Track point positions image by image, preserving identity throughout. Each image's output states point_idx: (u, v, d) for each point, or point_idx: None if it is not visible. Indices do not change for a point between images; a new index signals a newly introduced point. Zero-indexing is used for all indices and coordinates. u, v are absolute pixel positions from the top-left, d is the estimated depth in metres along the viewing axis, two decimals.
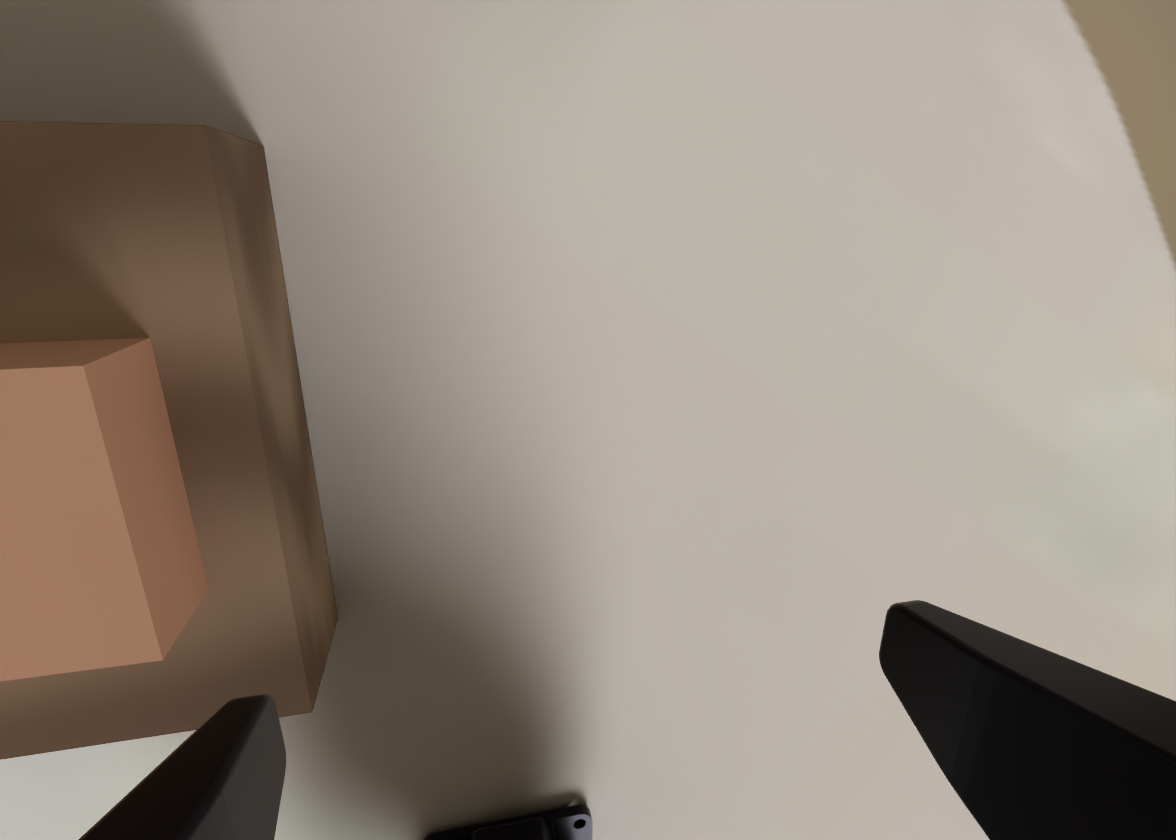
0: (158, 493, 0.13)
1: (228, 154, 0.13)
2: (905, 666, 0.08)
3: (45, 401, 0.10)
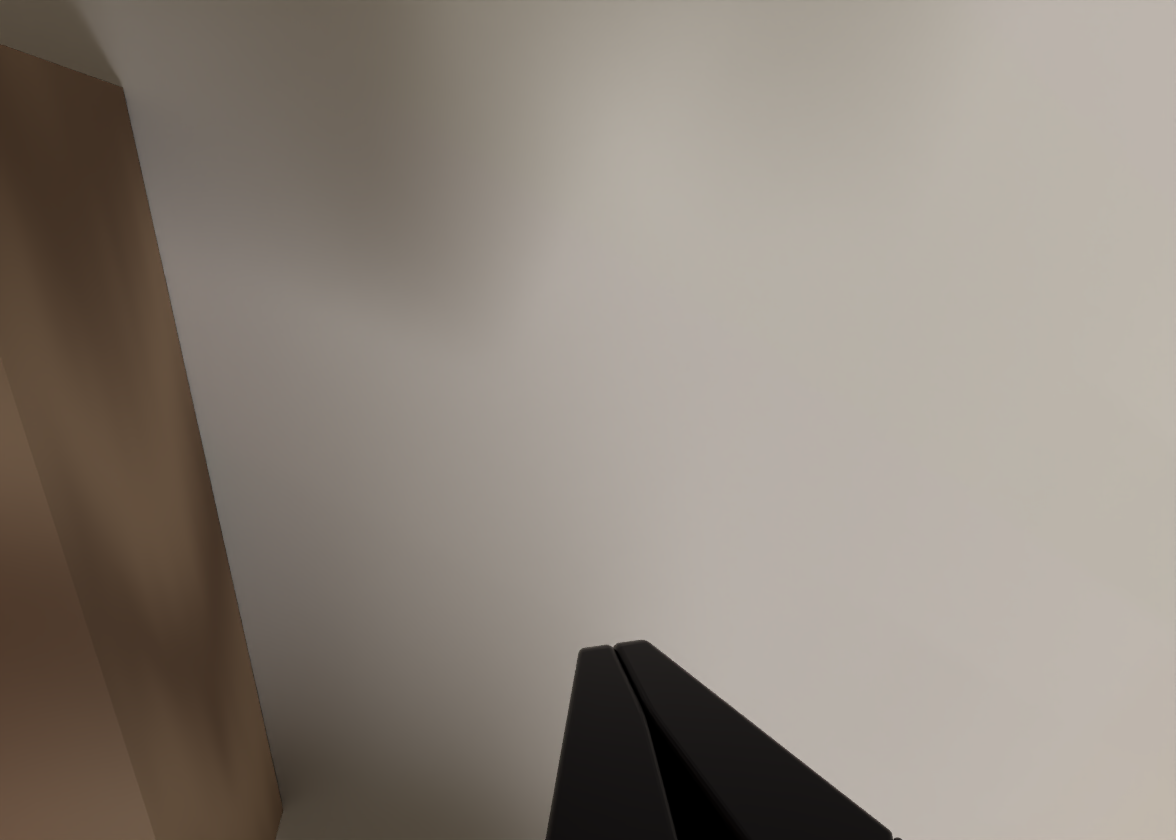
0: None
1: None
2: None
3: None
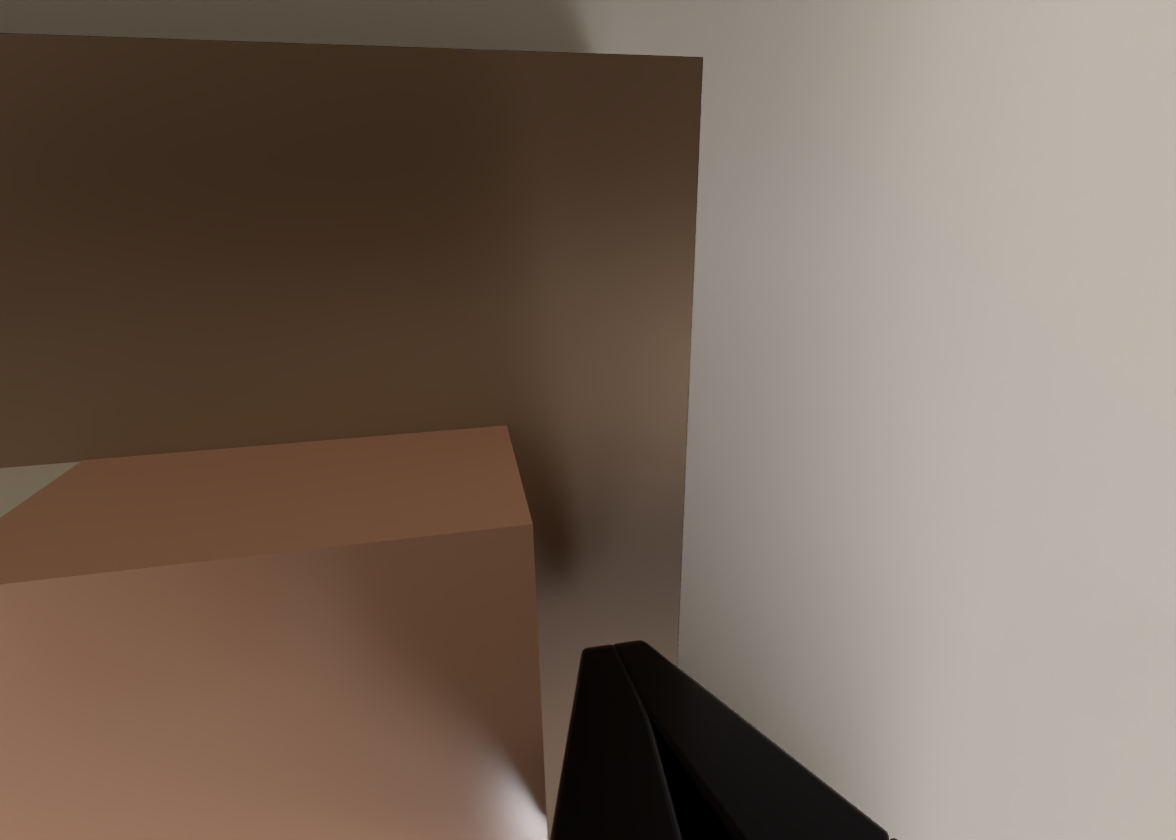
0: None
1: None
2: None
3: (453, 593, 0.05)
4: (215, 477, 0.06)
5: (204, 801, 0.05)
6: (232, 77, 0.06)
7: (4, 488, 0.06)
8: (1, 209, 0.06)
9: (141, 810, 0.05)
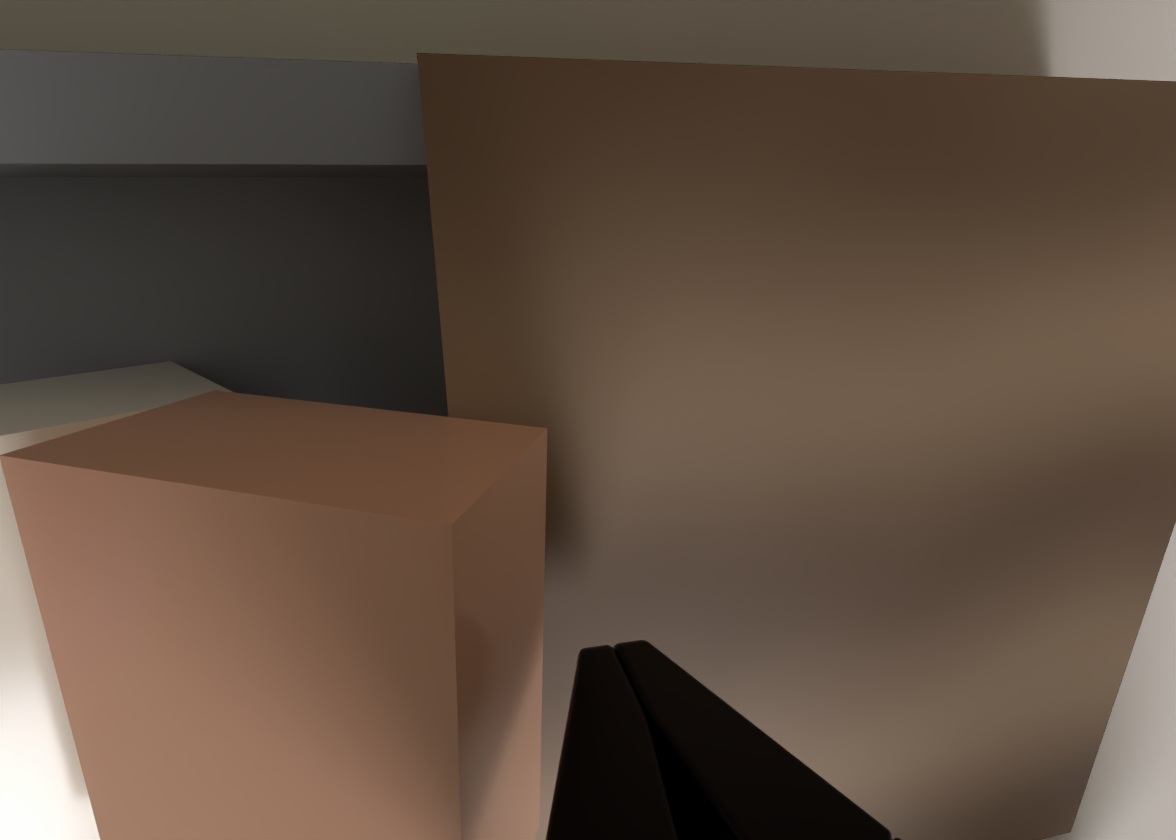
0: (511, 713, 0.07)
1: None
2: None
3: (374, 576, 0.05)
4: (273, 420, 0.07)
5: (179, 695, 0.06)
6: (1030, 103, 0.08)
7: None
8: (855, 202, 0.08)
9: (138, 684, 0.06)
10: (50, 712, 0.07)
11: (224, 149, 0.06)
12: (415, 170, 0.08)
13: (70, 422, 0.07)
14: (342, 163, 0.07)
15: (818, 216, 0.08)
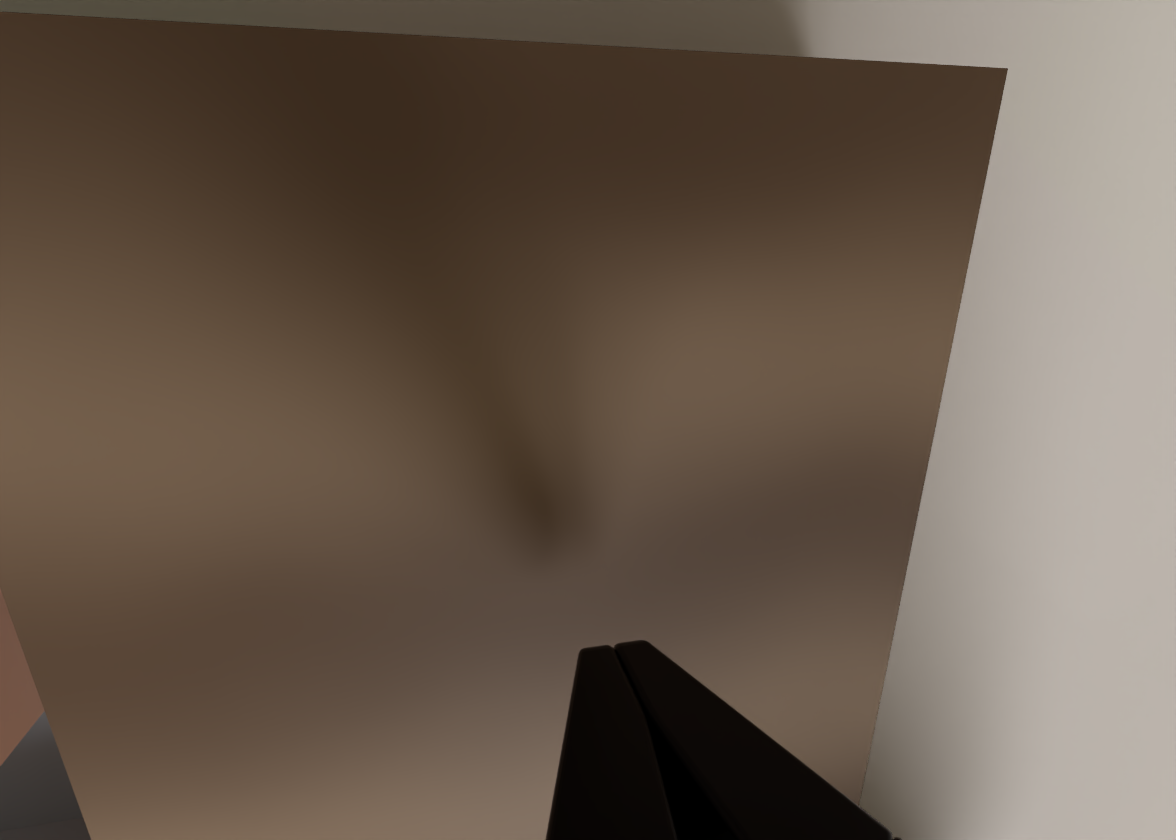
0: None
1: None
2: None
3: None
4: None
5: None
6: (636, 79, 0.07)
7: None
8: (433, 190, 0.07)
9: None
10: None
11: None
12: None
13: None
14: None
15: (384, 206, 0.07)
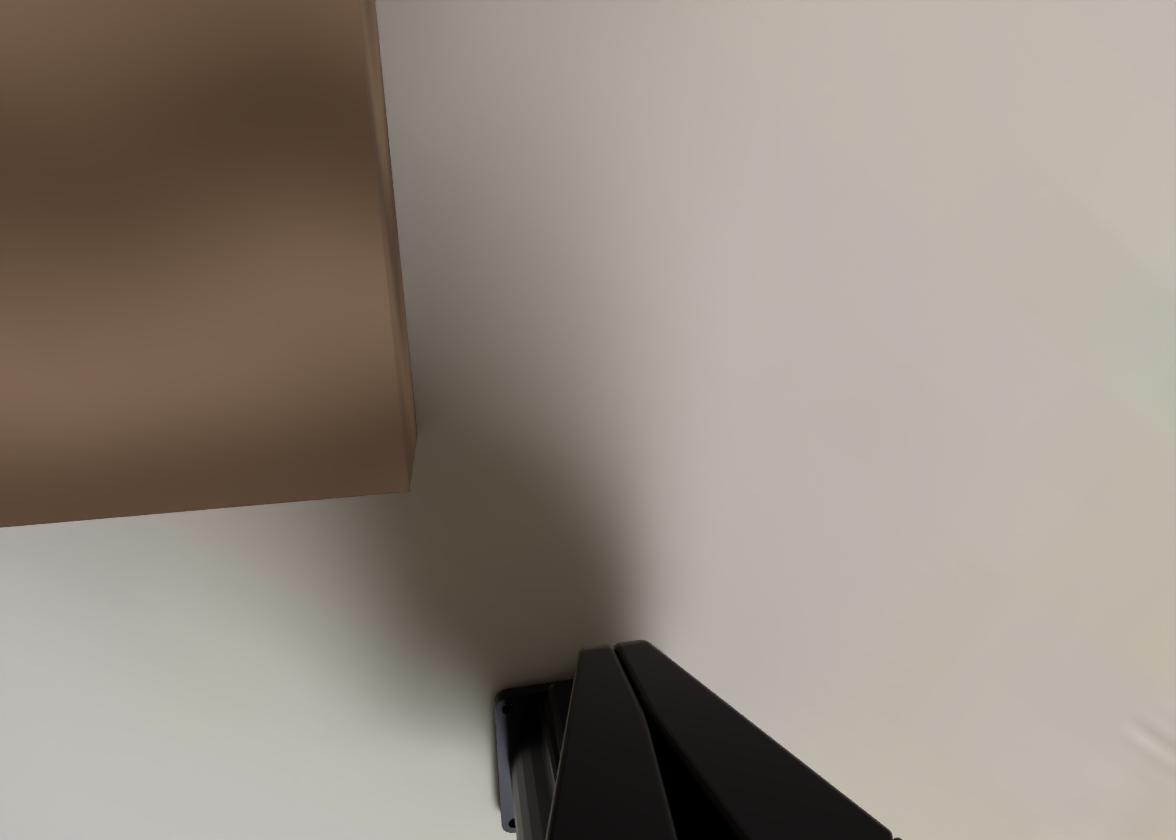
0: None
1: None
2: None
3: None
4: None
5: None
6: None
7: None
8: None
9: None
10: None
11: None
12: None
13: None
14: None
15: None
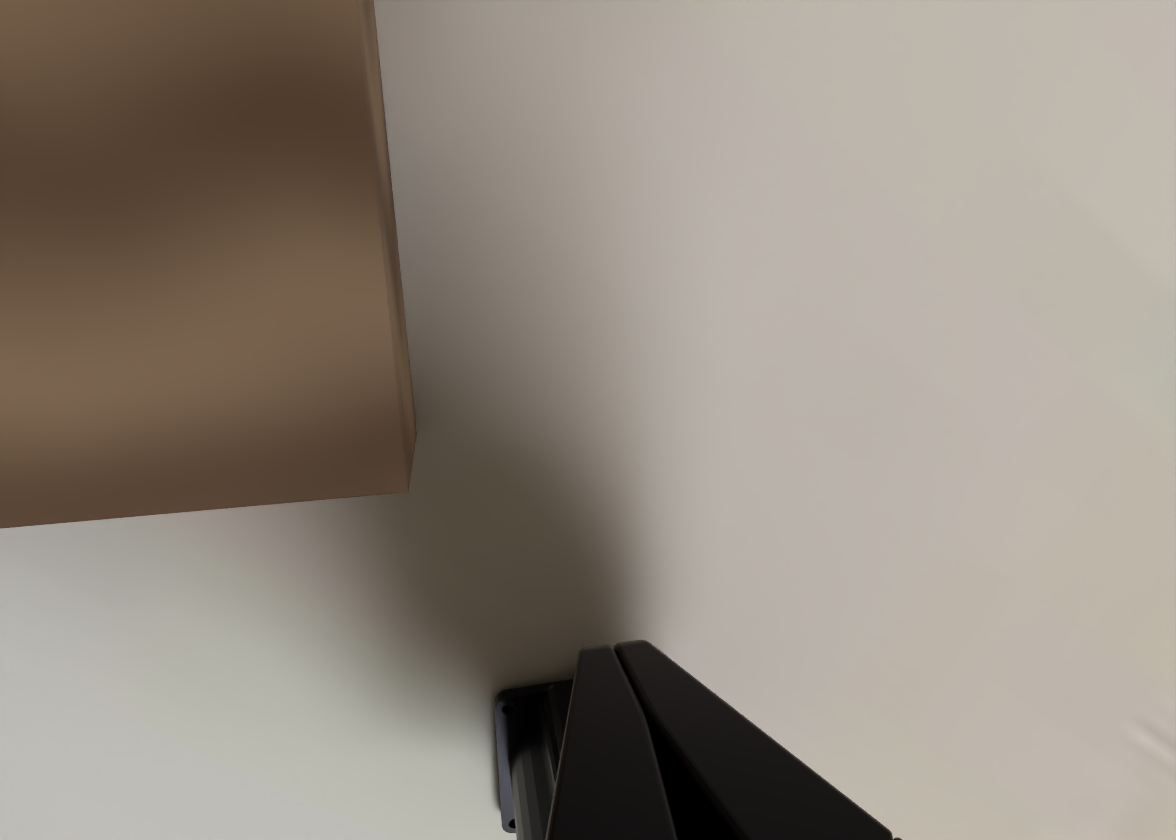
0: None
1: None
2: None
3: None
4: None
5: None
6: None
7: None
8: None
9: None
10: None
11: None
12: None
13: None
14: None
15: None
